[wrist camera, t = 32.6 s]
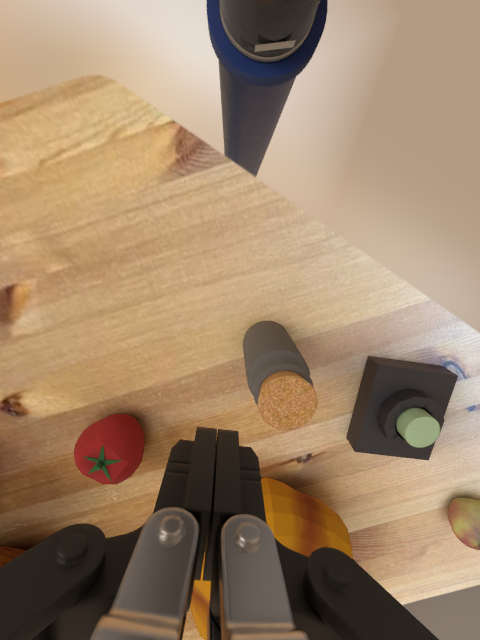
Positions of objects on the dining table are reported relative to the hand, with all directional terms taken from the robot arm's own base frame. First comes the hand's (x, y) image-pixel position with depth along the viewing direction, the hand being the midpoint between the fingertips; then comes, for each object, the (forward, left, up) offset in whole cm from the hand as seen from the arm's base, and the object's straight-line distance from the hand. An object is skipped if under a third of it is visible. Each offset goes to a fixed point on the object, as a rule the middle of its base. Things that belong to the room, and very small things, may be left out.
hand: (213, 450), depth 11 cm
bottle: (+4, +6, -27) cm, 28 cm away
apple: (+25, +38, -27) cm, 53 cm away
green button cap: (+10, +24, -22) cm, 34 cm away
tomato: (+19, -11, -27) cm, 35 cm away
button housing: (+10, +24, -27) cm, 37 cm away
